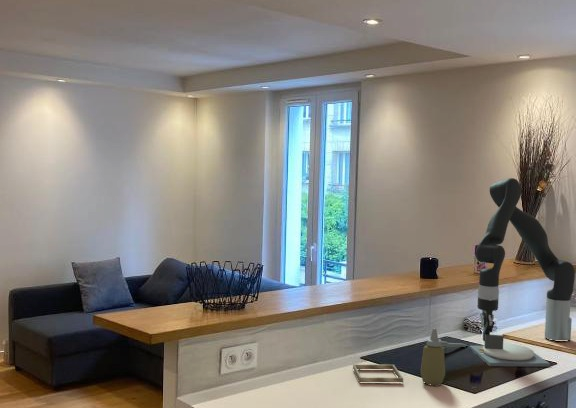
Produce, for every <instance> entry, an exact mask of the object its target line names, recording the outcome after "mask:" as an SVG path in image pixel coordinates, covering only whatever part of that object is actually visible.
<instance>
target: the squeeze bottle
mask: <svg viewBox="0 0 576 408" xmlns="http://www.w3.org/2000/svg"><path fill="white" fill-rule="evenodd" d="M440 339H441V338H439V337H438V332H437V328H432V331H431V334H430V337H429V338H427V339H426V345H424V346H423V350H422V356H421V366H420V371H419V372H420V376H421V379H422V383H423V382H425V383H427V384H431V385H438V386H440V385H439V384H441V383H442V384H443V381H444V379H445V376H446V364H445V349H444V348H443V347H442V346H441V341H442V339H441V340H440ZM427 384H426V385H427ZM442 384H441V385H442ZM431 385H430V386H431Z"/></svg>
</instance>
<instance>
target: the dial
mask: <svg viewBox="0 0 576 408" xmlns="http://www.w3.org/2000/svg"><path fill="white" fill-rule="evenodd" d="M482 346H483V348H479V351H483V352H484V353H485V354H487V355H489V356H491V357H495V358H499V359H505V360H515V361H521V360H529V359H532V358H533V357H534V353H535V352H534V350H533V349H532V348H530V347H527V346H525V345H521V344H516V343H509V342H504V335H502V334H491V333H490V334H485V342H484V345H482ZM524 346H525V347H524Z"/></svg>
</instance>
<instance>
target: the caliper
mask: <svg viewBox="0 0 576 408" xmlns="http://www.w3.org/2000/svg"><path fill="white" fill-rule="evenodd" d="M439 339H440V340H441V346H442V347H443V348H444V350H448V348H458V349H459V348H460V347H465V346H468V345H467V344H466V343H458V342H456V343H455V342H448V341H442V339H441V338H439ZM465 348H466V347H465ZM460 349H461V348H460Z"/></svg>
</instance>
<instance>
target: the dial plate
mask: <svg viewBox="0 0 576 408" xmlns="http://www.w3.org/2000/svg"><path fill="white" fill-rule="evenodd" d="M483 346H484V345H469V346H468V348H470V349H471V350H472V351H471V350H470V349H469V350H470V351H471V352H473V353H474V354H475V355H476V354H477V355H478V356H479V358H480V360H482V361H483V362H484V363H485V362H486V363H485V364H486V365H487V366H489V367H539V368H540V367H543V368H544V367H548V368H549V367H550V366H551V365H550V362H548V361H547V360H546V359H545V358H543V357H541V356H539V355H538V354H537V353H535V352H534V357H533V358H532V359H529V360H521V361H515V360H505V359H499V358H495V357H491V356H489V355H487V354H485V353H484V352H483V351H479V348H483ZM523 346H524V347H526V346H525V345H523ZM477 355H476V356H477ZM478 356H477V357H478Z"/></svg>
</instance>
